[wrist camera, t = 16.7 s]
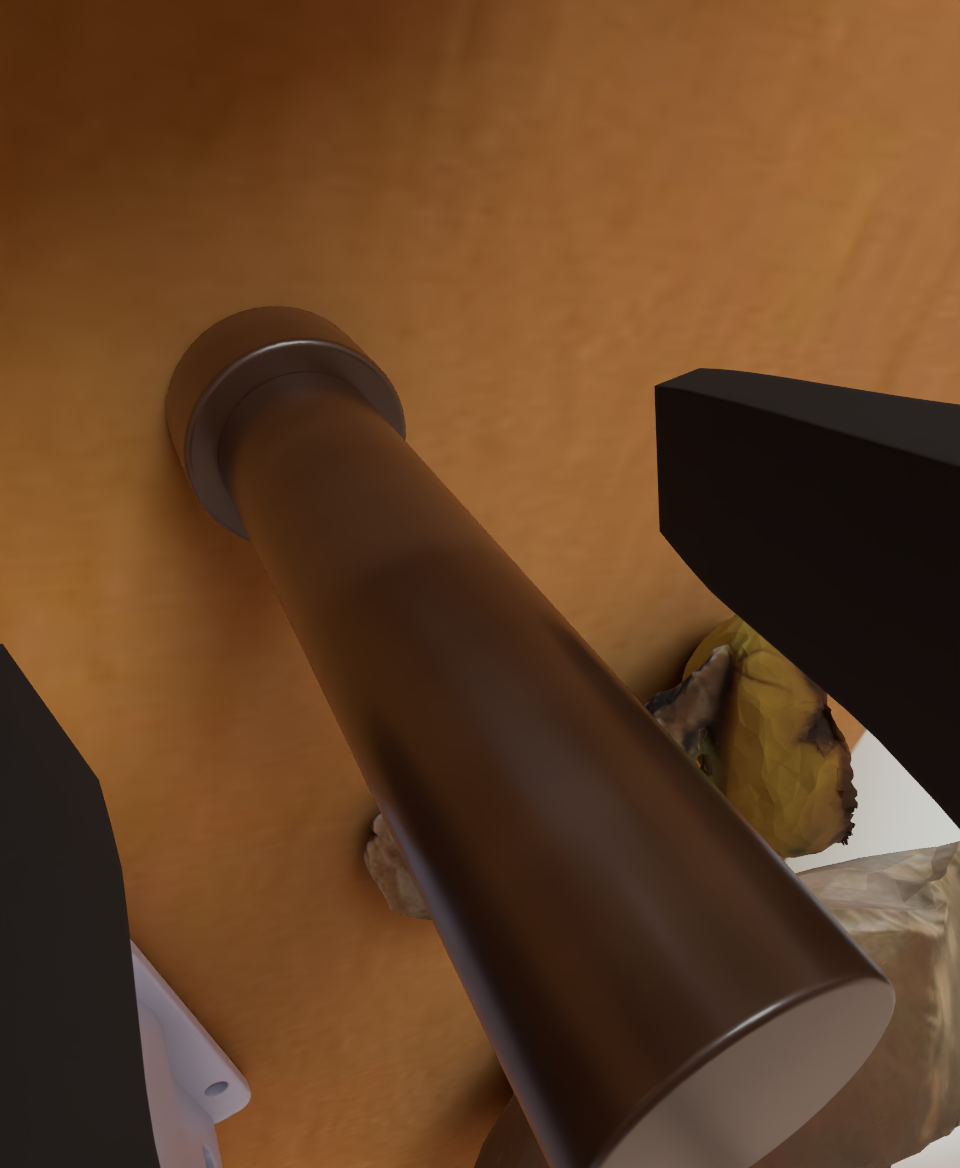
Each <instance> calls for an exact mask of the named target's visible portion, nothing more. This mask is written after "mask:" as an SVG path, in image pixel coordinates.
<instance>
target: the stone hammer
mask: <svg viewBox="0 0 960 1168" xmlns="http://www.w3.org/2000/svg"><path fill="white" fill-rule="evenodd" d="M796 875H797V876H798V877H799V879H800V880H801V881H802V882H803V883H804V884H805V885H806V886H807V887H808V889H809V890H810V891H811V892H812V893H813V894H814V895H815V896H816V897H817V899H818V900H819V901H820V902H821V903H822V904H823V905H824V906H825V907H826V908H827V910H828V911H829V912H830V913H831V914H832V915H833V916H834V917H835V918H836V920H837V921H838V922H839V923H840V924H841V925H842V926H843V927H844V928H845V930H846V931H847V932H848V933H849V934H850V935H851V936H852V937H853V938H854V940H855V941H856V942H857V943H858V944H859V945H860V946H861V947H862V948H863V950H864V951H865V952H866V953H867V954H868V955H869V956H870V957H871V958H872V960H873V961H874V962H875V963H876V964H877V965H878V966H879V967H880V968H881V969H882V971H883V972H884V973H885V974H886V975H887V976H888V977H889V979H890V981H891V984H892V986H893V989H894V991H895V997H896V1002H895V1007H894V1011H893V1014H892V1017H891V1019H890V1022H889V1024H888V1026H887V1028H886V1030H885V1031H884V1033H883V1035H882V1037H881V1039H880V1041H879V1042H878V1044H877V1045H876V1047H875V1048H874V1050H873V1051H872V1053H871V1054H870V1055H869V1057H868V1058H867V1059H866V1061H865V1062H864V1063H863V1065H862V1066H861V1067H860V1068H859V1069H858V1071H857V1072H856V1073H855V1074H854V1075H853V1076H852V1078H851V1079H850V1080H849V1081H848V1082H847V1083H846V1084H845V1085H844V1086H843V1087H842V1088H841V1090H840V1091H839V1092H838V1093H837V1094H836V1095H835V1096H834V1097H833V1098H832V1099H831V1100H830V1101H829V1102H828V1103H827V1104H826V1105H825V1106H824V1107H823V1108H822V1109H820V1110H819V1111H818V1112H817V1113H816V1114H815V1115H814V1116H813V1117H812V1118H811V1119H810V1120H808V1121H807V1122H806V1123H805V1124H804V1125H803V1126H802V1127H800V1128H799V1129H798V1130H797V1131H796V1132H795V1133H793V1134H792V1135H791V1136H790V1137H788V1138H787V1139H786V1140H785V1141H783V1142H782V1143H781V1144H780V1145H778V1146H777V1147H776V1148H775V1149H773V1150H772V1151H771V1152H769V1153H768V1154H767V1155H765V1156H764V1157H763V1158H761V1159H760V1160H759V1161H757V1162H756V1163H754V1164H753V1165H752V1166H750V1167H749V1168H890V1167H891V1165H892V1164H894V1163H896V1162H898V1161H901V1160H903V1159H905V1158H907V1157H910V1156H912V1155H915V1154H917V1153H919V1152H921V1151H922V1150H923V1149H924V1148H925V1147H926V1146H927V1145H928V1144H929V1143H931V1142H933V1141H935V1140H938V1139H939V1138H942V1137H944V1136H947V1135H949V1134H950V1133H951V1132H952V1130H953V1129H954V1128H955V1127H957V1126H959V1125H960V841H959V842H955V843H951V844H947V845H943V846H939V847H932V848H923V849H917V850H909V851H903V852H896V853H889V854H883V855H877V856H870V857H863V858H858V859H854V860H850V861H846V862H842V863H837V864H832V865H828V866H823V867H819V868H814V869H810V870H806V871H803V872H799V873H796ZM474 1168H550V1167H549V1165H548V1163H547V1161H546V1159H545V1157H544V1154H543V1152H542V1150H541V1148H540V1146H539V1144H538V1142H537V1140H536V1138H535V1136H534V1133H533V1131H532V1129H531V1127H530V1125H529V1123H528V1121H527V1119H526V1117H525V1115H524V1112H523V1110H522V1108H521V1106H520V1104H519V1102H518V1100H517V1098H516V1096H515V1094H513V1096H512V1097H511V1099H510V1101H509V1102H508V1104H507V1105H506V1107H505V1109H504V1110H503V1112H502V1114H501V1115H500V1117H499V1118H498V1120H497V1122H496V1123H495V1125H494V1126H493V1128H492V1130H491V1131H490V1133H489V1134H488V1136H487V1138H486V1139H485V1141H484V1143H483V1146H482V1148H481V1151H480V1153H479V1156H478V1159H477V1161H476V1164H475V1166H474Z"/></svg>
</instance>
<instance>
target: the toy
mask: <svg viewBox="0 0 960 1168" xmlns="http://www.w3.org/2000/svg"><path fill="white" fill-rule="evenodd" d="M644 707H645V708H646V709H647V710H648V711H649V712H650V713H651V714H652V716H653V717H654V718H655V719H656V720H657V721H658V722H659V723H660V724H661V725H662V727H663V728H664V729H665V730H666V731H667V732H668V733H669V734H670V735H671V737H672V738H673V739H674V740H675V741H676V742H677V743H678V744H679V745H680V747H681V748H682V749H683V750H684V751H685V752H686V753H687V754H688V755H689V757H690V758H691V759H692V760H693V761H695V759H696V758H698V761H699V763H700V765H701V767H700V769H701V770H702V771H703V772H704V773H705V774H706V775H707V777H708V778H709V779H710V780H711V781H712V782H713V783H714V784H715V785H716V786H717V788H718V789H719V790H720V791H721V792H722V793H723V794H724V795H725V796H726V798H727V799H728V800H729V801H730V802H731V803H732V804H733V805H734V806H735V808H736V809H737V810H738V811H739V812H740V813H741V814H742V815H743V816H744V818H745V819H746V820H747V821H748V822H749V823H750V824H751V825H752V826H753V828H754V829H755V830H756V831H757V832H758V833H759V834H760V835H761V836H762V838H763V839H764V840H765V841H766V842H767V843H768V844H769V845H770V846H771V847H772V849H773V850H774V851H775V852H776V853H777V854H778V855H779V856H782V857H791V858H792V857H793V858H795V857H799V856H804V855H808V854H816V853H819V852H822V851H824V850H825V849H826V848H828V847H829V846H831V845H832V844H834V843H840V842H841V843H842V844H843V845H844V843H845V844H846V845H848V843H847V839H848V836H851V834H852V832H851V831H852V828H854V826H855V824H854V823H851V821H850V820H851V818H852V817H853V814H851V813H853V812H854V808H857V804H858V803H857V801H856V800H855V799H854V798H855V797H856V796H857V790H856V789H855V788H854V786H853V785H852V783H851V781H852V779H853V770H852V768H851V766H850V762H851V753H850V751H849V747H848V745H847V743H846V741H845V738H844V736H843V734H842V732H841V731H840V730H839V729H838V727H837V725H836V723H835V721H834V720H833V718H832V715H831V709H830V708H829V707H828V706H827V693H826V692H825V691H824V690H823V689H822V688H821V687H819V686H818V685H817V684H816V683H815V682H814V681H813V680H811V679H810V678H809V677H808V676H807V675H806V674H804V673H803V672H802V671H801V670H800V669H799V668H797V667H796V666H795V665H794V664H793V663H792V662H791V661H789V660H788V659H787V658H786V657H785V656H784V655H782V654H781V653H780V652H779V651H778V650H777V649H776V648H774V647H773V646H772V645H771V644H770V643H769V642H767V641H766V640H765V639H764V638H763V637H762V636H760V635H759V634H758V633H757V632H756V631H755V630H754V629H752V628H751V627H750V626H749V625H748V624H747V623H746V622H745V621H743V620H742V619H741V618H740V617H739V616H738V615H737V614H736V615H735V616H733V617H732V618H730V619H729V620H727V621H724V622H722V623H720V624H719V625H718V626H717V627H716V628H714V629H713V630H712V631H711V632H710V633H709V634H708V635H707V636H706V637H705V638H704V639H703V640H702V641H701V643H700V644H699V646H698V647H697V649H696V650H695V652H694V653H693V655H692V656H691V658H690V660H689V661H688V663H687V664H686V667H685V671H684V674H683V679H682V683H680V684H679V685H677V686H675V687H674V688H672V689H670V690H666V691H662V692H657V693H656V695H655V696H654V697H653V698H652V699H651V700H650V701H648V702H647V703H646V704H645V705H644ZM370 828H371V829H372V830H373V831H374V832H375V833H376V834H374V835H372V836H371V838H370V839H369V841H368V843H367V844H366V847H365V851H364V860H365V863H366V867H367V869H368V871H369V873H370V874H371V876H372V878H373V879H374V880H375V882H376V883H377V885H378V887H379V889H380V890H381V892H382V893H383V895H384V897H385V899H386V901H387V903H388V906H389V909H390V911H391V912H393V913H396V914H400V915H408V916H412V917H415V918H419V919H427V920H432V919H431V917H430V915H429V913H428V911H427V909H426V907H425V905H424V903H423V900H422V898H421V896H420V894H419V892H418V890H417V888H416V886H415V884H414V882H413V879H412V877H411V875H410V873H409V871H408V869H407V867H406V865H405V863H404V861H403V858H402V856H401V854H400V852H399V850H398V848H397V846H396V844H395V842H394V840H393V838H392V835H391V833H390V831H389V829H388V827H387V825H386V823H385V821H384V819H383V817H382V814H381V812H379V813H378V814H377V815H376V816H375V818H374V819H373V820H372V823H371V827H370ZM843 841H844V842H843Z"/></svg>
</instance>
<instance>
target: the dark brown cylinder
mask: <svg viewBox="0 0 960 1168" xmlns="http://www.w3.org/2000/svg"><path fill="white" fill-rule="evenodd" d="M167 423H168V428H169V433H170V437H171V439H172V442H173V445H174V448H175V450H176V453H177V455H178V457H179V460H180V462H181V465H182V467H183V470H184V472H185V475H186V477H187V479H188V482H189V484H190V487H191V489H192V491H193V493H194V495H195V497H196V498H197V500H198V502H199V503H200V504H201V506H202V507H203V508H204V510H205V511H206V512H207V513H208V514H209V515H210V516H211V517H212V518H213V519H214V520H215V521H216V522H217V523H218V524H220V525H221V526H222V527H224V528H225V529H226V530H228V531H230V532H232V533H234V534H235V535H237V536H239V537H242V538H244V539H247V540H249V541H251V542H252V544H253V546H254V548H255V550H256V552H257V554H258V556H259V558H260V560H261V563H262V565H263V567H264V569H265V571H266V573H267V575H268V577H269V579H270V581H271V584H272V586H273V588H274V590H275V592H276V594H277V596H278V598H279V600H280V602H281V605H282V607H283V609H284V611H285V613H286V615H287V617H288V619H289V621H290V623H291V626H292V628H293V630H294V632H295V634H296V636H297V638H298V640H299V642H300V644H301V647H302V649H303V651H304V653H305V655H306V657H307V659H308V661H309V663H310V665H311V667H312V670H313V672H314V674H315V676H316V678H317V680H318V682H319V684H320V686H321V688H322V691H323V693H324V695H325V697H326V699H327V701H328V703H329V705H330V707H331V709H332V712H333V714H334V716H335V718H336V720H337V722H338V724H339V726H340V728H341V730H342V733H343V735H344V737H345V739H346V741H347V743H348V745H349V747H350V749H351V751H352V754H353V756H354V758H355V760H356V762H357V764H358V766H359V768H360V770H361V772H362V775H363V777H364V779H365V781H366V783H367V785H368V787H369V789H370V791H371V793H372V796H373V798H374V800H375V802H376V804H377V806H378V808H379V810H380V812H381V814H382V817H383V819H384V821H385V823H386V825H387V827H388V829H389V831H390V833H391V835H392V838H393V840H394V842H395V844H396V846H397V848H398V850H399V852H400V854H401V856H402V858H403V861H404V863H405V865H406V867H407V869H408V871H409V873H410V875H411V877H412V879H413V882H414V884H415V886H416V888H417V890H418V892H419V894H420V896H421V898H422V900H423V903H424V905H425V907H426V909H427V911H428V913H429V915H430V917H431V919H432V921H433V924H434V926H435V928H436V930H437V932H438V934H439V936H440V938H441V940H442V942H443V945H444V947H445V949H446V951H447V953H448V955H449V957H450V959H451V961H452V963H453V966H454V968H455V970H456V972H457V974H458V976H459V978H460V980H461V982H462V984H463V987H464V989H465V991H466V993H467V995H468V997H469V999H470V1001H471V1003H472V1005H473V1008H474V1010H475V1012H476V1014H477V1016H478V1018H479V1020H480V1022H481V1024H482V1026H483V1029H484V1031H485V1033H486V1035H487V1037H488V1039H489V1041H490V1043H491V1045H492V1047H493V1049H494V1052H495V1054H496V1056H497V1058H498V1060H499V1062H500V1064H501V1066H502V1068H503V1070H504V1073H505V1075H506V1077H507V1079H508V1081H509V1083H510V1085H511V1087H512V1089H513V1091H514V1094H515V1096H516V1098H517V1100H518V1102H519V1104H520V1106H521V1108H522V1110H523V1112H524V1115H525V1117H526V1119H527V1121H528V1123H529V1125H530V1127H531V1129H532V1131H533V1133H534V1136H535V1138H536V1140H537V1142H538V1144H539V1146H540V1148H541V1150H542V1152H543V1154H544V1157H545V1159H546V1161H547V1163H548V1165H549V1167H550V1168H749V1167H750V1166H752V1165H753V1164H754V1163H756V1162H757V1161H759V1160H760V1159H761V1158H763V1157H764V1156H765V1155H767V1154H768V1153H769V1152H771V1151H772V1150H773V1149H775V1148H776V1147H777V1146H778V1145H780V1144H781V1143H782V1142H783V1141H785V1140H786V1139H787V1138H788V1137H790V1136H791V1135H792V1134H793V1133H795V1132H796V1131H797V1130H798V1129H799V1128H800V1127H802V1126H803V1125H804V1124H805V1123H806V1122H807V1121H808V1120H810V1119H811V1118H812V1117H813V1116H814V1115H815V1114H816V1113H817V1112H818V1111H819V1110H820V1109H822V1108H823V1107H824V1106H825V1105H826V1104H827V1103H828V1102H829V1101H830V1100H831V1099H832V1098H833V1097H834V1096H835V1095H836V1094H837V1093H838V1092H839V1091H840V1090H841V1088H842V1087H843V1086H844V1085H845V1084H846V1083H847V1082H848V1081H849V1080H850V1079H851V1078H852V1076H853V1075H854V1074H855V1073H856V1072H857V1071H858V1069H859V1068H860V1067H861V1066H862V1065H863V1063H864V1062H865V1061H866V1059H867V1058H868V1057H869V1055H870V1054H871V1053H872V1051H873V1050H874V1048H875V1047H876V1045H877V1044H878V1042H879V1041H880V1039H881V1037H882V1035H883V1033H884V1031H885V1030H886V1028H887V1026H888V1024H889V1022H890V1019H891V1017H892V1014H893V1011H894V1007H895V1002H896V997H895V991H894V989H893V986H892V984H891V981H890V979H889V977H888V976H887V975H886V974H885V973H884V972H883V971H882V969H881V968H880V967H879V966H878V965H877V964H876V963H875V962H874V961H873V960H872V958H871V957H870V956H869V955H868V954H867V953H866V952H865V951H864V950H863V948H862V947H861V946H860V945H859V944H858V943H857V942H856V941H855V940H854V938H853V937H852V936H851V935H850V934H849V933H848V932H847V931H846V930H845V928H844V927H843V926H842V925H841V924H840V923H839V922H838V921H837V920H836V918H835V917H834V916H833V915H832V914H831V913H830V912H829V911H828V910H827V908H826V907H825V906H824V905H823V904H822V903H821V902H820V901H819V900H818V899H817V897H816V896H815V895H814V894H813V893H812V892H811V891H810V890H809V889H808V887H807V886H806V885H805V884H804V883H803V882H802V881H801V880H800V879H799V877H798V876H797V875H796V874H795V873H794V872H793V871H792V870H791V869H790V868H789V867H788V865H787V864H786V863H785V862H784V861H783V860H782V859H781V857H780V856H779V855H778V854H777V853H776V852H775V851H774V850H773V849H772V847H771V846H770V845H769V844H768V843H767V842H766V841H765V840H764V839H763V838H762V836H761V835H760V834H759V833H758V832H757V831H756V830H755V829H754V828H753V826H752V825H751V824H750V823H749V822H748V821H747V820H746V819H745V818H744V816H743V815H742V814H741V813H740V812H739V811H738V810H737V809H736V808H735V806H734V805H733V804H732V803H731V802H730V801H729V800H728V799H727V798H726V796H725V795H724V794H723V793H722V792H721V791H720V790H719V789H718V788H717V786H716V785H715V784H714V783H713V782H712V781H711V780H710V779H709V778H708V777H707V775H706V774H705V773H704V772H703V771H702V770H701V769H700V768H699V767H698V765H697V764H696V763H695V762H694V761H693V760H692V759H691V758H690V757H689V755H688V754H687V753H686V752H685V751H684V750H683V749H682V748H681V747H680V745H679V744H678V743H677V742H676V741H675V740H674V739H673V738H672V737H671V735H670V734H669V733H668V732H667V731H666V730H665V729H664V728H663V727H662V725H661V724H660V723H659V722H658V721H657V720H656V719H655V718H654V717H653V716H652V714H651V713H650V712H649V711H648V710H647V709H646V708H645V707H644V706H643V704H642V703H641V702H640V701H639V700H638V699H637V698H636V697H635V696H634V694H633V693H632V692H631V691H630V690H629V689H628V688H627V687H626V686H625V684H624V683H623V682H622V681H621V680H620V679H619V678H618V677H617V676H616V674H615V673H614V672H613V671H612V670H611V669H610V668H609V667H608V666H607V664H606V663H605V662H604V661H603V660H602V659H601V658H600V657H599V656H598V655H597V653H596V652H595V651H594V650H593V649H592V648H591V647H590V646H589V645H588V643H587V642H586V641H585V640H584V639H583V638H582V637H581V636H580V635H579V633H578V632H577V631H576V630H575V629H574V628H573V627H572V626H571V625H570V623H569V622H568V621H567V620H566V619H565V618H564V617H563V616H562V615H561V613H560V612H559V611H558V610H557V609H556V608H555V607H554V606H553V605H552V603H551V602H550V601H549V600H548V599H547V598H546V597H545V596H544V595H543V594H542V592H541V591H540V590H539V589H538V588H537V587H536V586H535V585H534V584H533V582H532V581H531V580H530V579H529V578H528V577H527V576H526V575H525V574H524V572H523V571H522V570H521V569H520V568H519V567H518V566H517V565H516V564H515V562H514V561H513V560H512V559H511V558H510V557H509V556H508V555H507V554H506V552H505V551H504V550H503V549H502V548H501V547H500V546H499V545H498V544H497V542H496V541H495V540H494V539H493V538H492V537H491V536H490V535H489V534H488V533H487V531H486V530H485V529H484V528H483V527H482V526H481V525H480V524H479V523H478V521H477V520H476V519H475V518H474V517H473V516H472V515H471V514H470V513H469V511H468V510H467V509H466V508H465V507H464V506H463V505H462V504H461V503H460V501H459V500H458V499H457V498H456V497H455V496H454V495H453V494H452V493H451V491H450V490H449V489H448V488H447V487H446V486H445V485H444V484H443V483H442V481H441V480H440V479H439V478H438V477H437V476H436V475H435V474H434V473H433V472H432V470H431V469H430V468H429V467H428V466H427V465H426V464H425V463H424V462H423V460H422V459H421V458H420V457H419V456H418V455H417V454H416V453H415V452H414V450H413V449H412V448H411V447H410V446H409V445H408V444H407V443H406V442H405V438H406V432H405V419H404V413H403V409H402V405H401V402H400V399H399V397H398V395H397V392H396V390H395V388H394V386H393V385H392V383H391V382H390V380H389V379H388V377H387V376H386V374H385V373H384V372H383V371H382V370H381V369H380V368H379V367H378V366H377V365H376V364H375V363H374V362H373V361H372V360H371V359H370V358H369V357H368V356H367V355H366V354H365V353H364V352H363V351H362V350H361V349H360V348H359V347H358V346H357V345H356V344H355V343H354V342H353V341H352V340H351V339H350V338H349V337H348V336H347V335H346V334H345V333H344V332H343V331H342V330H340V329H339V328H338V327H337V326H336V325H334V324H332V323H331V322H329V321H328V320H326V319H324V318H322V317H320V316H318V315H315V314H313V313H311V312H307V311H304V310H300V309H296V308H289V307H262V308H254V309H251V310H247V311H243V312H240V313H237V314H235V315H232V316H230V317H227V318H225V319H224V320H222V321H220V322H218V323H216V324H215V325H213V326H212V327H211V328H209V329H208V330H207V331H205V332H204V333H203V334H202V335H201V336H200V337H199V338H198V339H197V340H196V341H195V342H194V343H193V344H192V345H191V346H190V347H189V349H188V350H187V351H186V353H185V354H184V355H183V357H182V359H181V360H180V362H179V364H178V366H177V367H176V370H175V372H174V375H173V377H172V380H171V383H170V387H169V392H168V397H167Z"/></svg>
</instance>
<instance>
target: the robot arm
mask: <svg viewBox="0 0 960 1168" xmlns="http://www.w3.org/2000/svg"><path fill="white" fill-rule="evenodd" d="M655 412H656V440H657V468H658V496H659V524H660V532H661V533H662V535H663V536H664V537H665V538H666V540H667V541H668V542H669V543H670V544H671V546H672V547H673V548H674V549H675V551H676V552H677V553H678V554H679V556H680V557H681V558H682V559H683V560H684V562H685V563H686V564H687V565H688V566H689V567H690V569H691V570H692V571H693V572H694V573H695V574H696V575H697V576H698V578H699V579H700V580H701V581H702V582H703V583H704V584H705V585H706V587H707V588H708V589H709V590H710V591H711V592H712V593H713V594H714V595H715V596H717V597H718V598H719V599H720V600H721V601H722V602H723V603H724V604H725V605H726V606H728V607H729V608H730V609H731V610H732V611H733V612H734V613H736V614H737V615H738V616H739V617H740V618H741V619H742V620H743V621H745V622H746V623H747V624H748V625H749V626H750V627H751V628H752V629H754V630H755V631H756V632H757V633H758V634H759V635H760V636H762V637H763V638H764V639H765V640H766V641H767V642H769V643H770V644H771V645H772V646H773V647H774V648H776V649H777V650H778V651H779V652H780V653H781V654H782V655H784V656H785V657H786V658H787V659H788V660H789V661H791V662H792V663H793V664H794V665H795V666H796V667H797V668H799V669H800V670H801V671H802V672H803V673H804V674H806V675H807V676H808V677H809V678H810V679H811V680H813V681H814V682H815V683H816V684H817V685H818V686H819V687H821V688H822V689H823V690H824V691H825V692H826V693H828V694H829V695H830V696H831V697H832V698H833V699H834V700H836V701H837V702H838V703H839V704H840V705H841V706H843V707H844V708H845V709H846V710H847V711H848V712H849V713H850V714H851V715H852V716H854V717H855V718H856V719H857V720H858V721H859V722H860V723H861V724H862V725H863V726H864V727H865V728H866V729H867V730H868V731H869V732H870V733H872V734H873V735H874V736H875V737H876V738H877V739H878V740H879V741H880V742H881V743H882V744H883V745H884V747H885V748H886V749H887V750H888V751H889V752H890V753H891V754H892V755H893V756H894V757H895V758H896V759H897V760H898V761H899V763H900V764H901V765H902V766H903V767H904V768H905V769H906V770H907V771H908V772H909V773H910V774H911V776H912V777H913V778H914V779H915V780H916V781H917V782H918V783H919V784H920V785H921V786H922V787H923V788H924V789H925V791H927V793H928V794H929V795H930V796H931V797H932V798H933V799H934V800H935V801H936V802H937V803H938V805H939V806H940V807H941V808H942V809H943V810H944V811H945V813H947V815H948V816H949V817H950V818H951V819H952V821H953V822H954V823H955V824H956V825H957V826H958V827H959V828H960V405H959V404H950V403H943V402H936V401H929V400H922V399H915V398H908V397H902V396H895V395H889V394H882V393H876V392H870V391H864V390H858V389H852V388H846V387H839V386H833V385H827V384H821V383H815V382H809V381H803V380H797V379H791V378H784V377H778V376H772V375H764V374H757V373H750V372H742V371H734V370H723V369H707V368H699V369H696V370H694V371H691V372H689V373H686V374H684V375H681V376H679V377H676V378H673V379H671V380H668V381H666V382H663V383H661V384H658V385H656V386H655ZM250 1098H251V1092H250V1088H249V1084H248V1080H247V1079H246V1078H245V1077H244V1076H243V1074H242V1073H241V1072H240V1071H239V1070H238V1068H237V1067H236V1066H235V1065H234V1063H233V1062H232V1061H231V1060H230V1059H229V1057H228V1056H227V1055H226V1054H225V1053H224V1051H223V1050H222V1049H221V1048H220V1047H219V1045H218V1044H217V1043H216V1042H215V1040H214V1039H213V1038H212V1037H211V1036H210V1034H209V1033H208V1032H207V1031H206V1030H205V1028H204V1027H203V1026H202V1025H201V1024H200V1022H199V1021H198V1020H197V1019H196V1017H195V1016H194V1015H193V1014H192V1013H191V1011H190V1010H189V1009H188V1008H187V1007H186V1005H185V1004H184V1003H183V1002H182V1001H181V999H180V998H179V997H178V996H177V995H176V993H175V992H174V991H173V990H172V988H171V987H170V986H169V985H168V984H167V982H166V981H165V980H164V979H163V978H162V976H161V975H160V974H159V973H158V972H157V970H156V969H155V968H154V967H153V965H152V964H151V963H150V962H149V961H148V959H147V958H146V957H145V956H144V955H143V953H142V952H141V951H140V950H139V949H138V947H137V946H136V945H135V944H134V942H133V941H132V940H131V939H130V934H129V925H128V916H127V908H126V899H125V890H124V883H123V875H122V867H121V863H120V859H119V855H118V851H117V847H116V843H115V839H114V835H113V831H112V827H111V823H110V819H109V816H108V812H107V808H106V804H105V801H104V797H103V793H102V790H101V786H100V782H99V780H98V778H97V777H96V775H95V774H94V773H93V771H92V770H91V768H90V767H89V766H88V764H87V763H86V761H85V760H84V758H83V757H82V756H81V754H80V753H79V751H78V750H77V749H76V747H75V746H74V744H73V743H72V742H71V740H70V739H69V737H68V736H67V734H66V733H65V732H64V730H63V729H62V727H61V726H60V725H59V723H58V722H57V720H56V719H55V718H54V716H53V715H52V713H51V712H50V710H49V709H48V708H47V706H46V705H45V703H44V702H43V701H42V699H41V698H40V696H39V695H38V693H37V692H36V691H35V689H34V688H33V686H32V685H31V684H30V682H29V681H28V679H27V678H26V677H25V675H24V674H23V672H22V671H21V669H20V668H19V667H18V665H17V664H16V662H15V661H14V660H13V658H12V657H11V655H10V654H9V653H8V651H7V650H6V648H5V647H4V645H3V644H0V1168H223V1165H222V1160H221V1155H220V1150H219V1146H218V1141H217V1136H216V1131H215V1126H214V1125H215V1124H217V1123H219V1122H221V1121H222V1120H224V1119H226V1118H228V1117H230V1116H231V1115H233V1114H235V1113H237V1112H238V1111H240V1110H241V1109H243V1108H244V1107H245V1106H246V1105H247V1104H248V1102H249V1101H250Z"/></svg>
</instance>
